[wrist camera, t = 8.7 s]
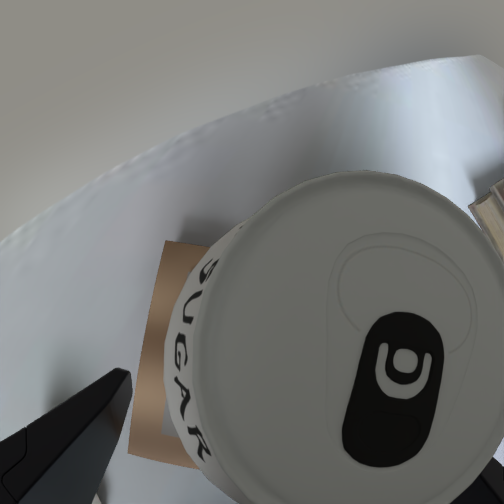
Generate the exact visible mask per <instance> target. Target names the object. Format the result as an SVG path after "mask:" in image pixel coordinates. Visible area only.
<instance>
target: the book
mask: <svg viewBox="0 0 504 504" xmlns="http://www.w3.org/2000/svg"><path fill="white" fill-rule="evenodd" d="M489 189H490V191H491V192H489V193H488V194H486V195H485V196H483V197H482V198H480V199H479V200H477V201H476V202H474V203H473V204H471V205H469V206H468V208H469V209H470V211H471V213H472V214H473V216H474V217H475V219H476V221H477V222H478V224H479V226H480V228H481V229H482V231H483V233H484V234H485V235H486V236H487V238H488V239H489V241H490V242H491V244H492V245H493V247H494V249H495V250H496V252H497V253H498V255H499V257H500V258H501V260H502V262H503V264H504V178H503V179H501V180H500V181H498V182H497V183H495V184H494V185H492V186H491V187H490V188H489Z"/></svg>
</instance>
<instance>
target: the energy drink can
mask: <svg viewBox="0 0 504 504" xmlns="http://www.w3.org/2000/svg"><path fill="white" fill-rule="evenodd" d="M163 381H164V386H165V392H166V397H167V402H168V407H169V411H170V416H171V419H172V422H173V424H174V426H175V428H176V431H177V433H178V435H179V437H180V439H181V441H182V444H183V446H184V448H185V450H186V452H187V453H188V454H189V456H190V457H191V458H192V460H193V461H194V462H195V464H196V465H197V466H198V467H199V469H200V470H201V471H202V472H203V474H204V475H205V476H206V477H207V479H208V480H209V481H210V482H212V483H213V484H214V485H215V486H217V487H218V488H219V489H220V490H222V491H223V492H224V493H225V494H227V495H228V496H229V497H231V498H232V499H233V500H234V501H236V502H237V503H239V504H450V503H451V502H452V501H453V500H454V499H455V498H457V497H458V496H459V495H460V494H461V493H462V492H463V491H464V490H465V489H467V488H468V487H469V486H470V485H471V484H472V483H473V482H474V480H475V479H476V478H477V477H478V475H479V474H480V473H481V472H482V470H483V469H484V468H485V466H486V465H487V464H488V463H489V461H490V460H491V458H492V457H493V455H494V453H495V452H496V450H497V448H498V446H499V445H500V443H501V441H502V439H503V437H504V264H503V262H502V260H501V258H500V257H499V255H498V253H497V252H496V250H495V249H494V247H493V245H492V244H491V242H490V241H489V239H488V238H487V236H486V235H485V234H484V233H483V232H482V230H481V229H480V228H479V227H478V226H477V225H476V224H475V222H474V221H473V220H472V219H471V218H470V217H469V216H468V215H467V214H466V213H465V212H464V211H462V210H461V209H460V208H459V207H458V206H456V205H455V204H454V203H453V202H451V201H450V200H449V199H448V198H446V197H445V196H443V195H441V194H439V193H438V192H436V191H434V190H432V189H431V188H429V187H427V186H425V185H423V184H421V183H418V182H416V181H413V180H410V179H407V178H404V177H401V176H398V175H395V174H389V173H382V172H375V171H368V170H365V171H347V172H336V173H332V174H328V175H324V176H321V177H317V178H313V179H310V180H306V181H304V182H302V183H300V184H298V185H296V186H294V187H293V188H291V189H289V190H287V191H285V192H283V193H281V194H279V195H277V196H275V197H274V198H273V199H272V200H271V201H269V202H268V203H267V204H266V205H265V206H263V207H262V208H261V209H260V210H259V211H258V212H256V213H255V214H254V215H253V216H252V217H250V218H248V219H247V220H245V221H243V222H241V223H239V224H238V225H236V226H235V227H234V228H232V229H231V230H230V231H229V232H228V233H227V234H225V235H224V236H223V237H222V238H221V239H219V240H218V241H217V242H216V243H215V244H214V245H212V246H211V247H210V249H209V250H208V251H207V253H206V254H205V255H204V256H203V258H202V259H201V260H200V261H199V263H198V264H197V265H196V267H195V268H194V269H193V270H192V272H191V273H190V274H189V276H188V278H187V280H186V282H185V285H184V287H183V289H182V291H181V293H180V295H179V297H178V299H177V301H176V303H175V305H174V307H173V311H172V315H171V319H170V323H169V327H168V331H167V335H166V339H165V344H164V377H163Z"/></svg>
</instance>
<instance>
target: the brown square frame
mask: <svg viewBox="0 0 504 504" xmlns="http://www.w3.org/2000/svg"><path fill="white" fill-rule="evenodd" d="M209 249H210V247H205V246H199V245H192V244H186V243H179V242H173V241H165V245H164V249H163V253H162V257H161V261H160V265H159V269H158V274H157V278H156V282H155V287H154V291H153V296H152V301H151V305H150V310H149V315H148V320H147V325H146V330H145V335H144V341H143V346H142V352H141V358H140V364H139V370H138V376H137V382H136V389H135V396H134V403H133V411H132V419H131V427H130V436H129V445H128V453H129V454H132V455H136V456H140V457H143V458H147V459H151V460H156V461H160V462H164V463H169V464H173V465H178V466H183V467H189V468H194V469H199V467H198V466H197V465H196V464H195V462H194V461H193V460H192V458H191V457H190V456H189V454H188V453H187V452H186V450H185V448H184V446H183V444H182V441H181V439H180V437H179V435H178V433H177V431H176V428H175V426H174V424H173V422H172V419H171V416H170V411H169V407H168V402H167V397H166V392H165V386H164V381H163V377H164V344H165V339H166V335H167V331H168V327H169V323H170V319H171V315H172V311H173V307H174V305H175V303H176V301H177V299H178V297H179V295H180V293H181V291H182V289H183V287H184V285H185V282H186V280H187V278H188V276H189V274H190V273H191V272H192V270H193V269H194V268H195V267H196V265H197V264H198V263H199V261H200V260H201V259H202V258H203V256H204V255H205V254H206V253H207V251H208V250H209Z"/></svg>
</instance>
